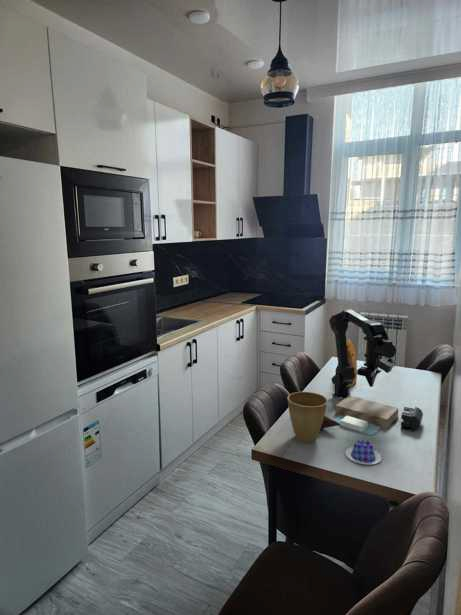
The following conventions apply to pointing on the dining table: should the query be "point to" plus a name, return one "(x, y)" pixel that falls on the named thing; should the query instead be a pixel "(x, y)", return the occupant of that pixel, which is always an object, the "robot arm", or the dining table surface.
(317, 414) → the plant pot
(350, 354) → the coffee package
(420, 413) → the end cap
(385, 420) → the tan flat block
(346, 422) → the white box
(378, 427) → the mat
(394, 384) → the dining table surface
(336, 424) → the icecream
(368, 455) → the pudding
